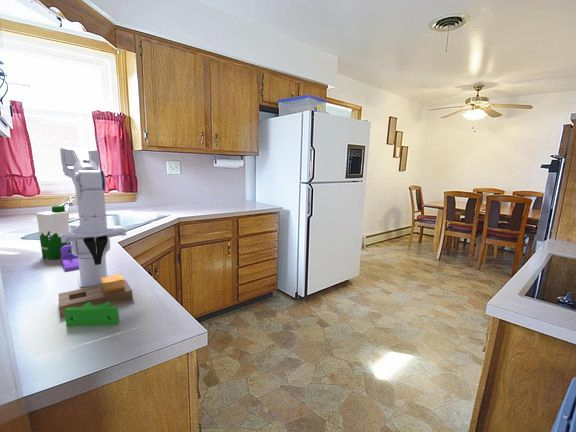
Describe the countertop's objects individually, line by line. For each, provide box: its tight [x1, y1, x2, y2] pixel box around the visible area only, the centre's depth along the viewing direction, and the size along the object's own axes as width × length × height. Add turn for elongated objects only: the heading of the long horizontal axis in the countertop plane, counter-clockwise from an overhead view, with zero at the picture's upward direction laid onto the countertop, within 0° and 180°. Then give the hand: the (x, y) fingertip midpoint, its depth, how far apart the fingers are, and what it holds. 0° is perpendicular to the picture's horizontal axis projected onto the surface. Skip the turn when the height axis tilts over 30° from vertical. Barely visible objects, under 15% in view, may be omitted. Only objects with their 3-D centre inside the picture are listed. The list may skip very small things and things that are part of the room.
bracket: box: [61, 245, 79, 272], centre depth 106 cm, size 12×7×7 cm, turn 42°
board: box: [58, 279, 134, 318], centre depth 78 cm, size 9×16×3 cm, turn 129°
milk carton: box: [35, 205, 72, 260], centre depth 114 cm, size 9×9×20 cm
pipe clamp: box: [65, 302, 120, 327], centre depth 68 cm, size 11×4×5 cm, turn 96°
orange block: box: [100, 273, 125, 294], centre depth 80 cm, size 5×5×6 cm
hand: (97, 263), depth 79 cm, fingers closed
